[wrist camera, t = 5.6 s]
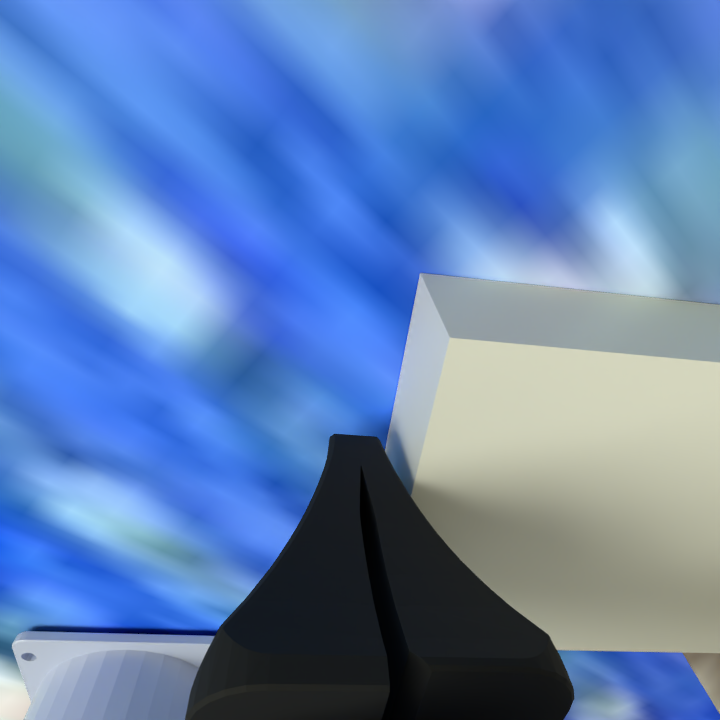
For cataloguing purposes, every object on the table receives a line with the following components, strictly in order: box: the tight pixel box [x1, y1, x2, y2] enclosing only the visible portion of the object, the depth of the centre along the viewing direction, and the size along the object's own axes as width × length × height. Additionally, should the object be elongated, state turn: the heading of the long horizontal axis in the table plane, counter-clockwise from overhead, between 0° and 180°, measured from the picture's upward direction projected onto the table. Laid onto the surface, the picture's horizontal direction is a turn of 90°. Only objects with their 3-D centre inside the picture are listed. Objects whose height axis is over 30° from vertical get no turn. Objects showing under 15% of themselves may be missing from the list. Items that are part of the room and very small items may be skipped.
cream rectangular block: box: [385, 273, 720, 653], centre depth 14 cm, size 10×14×4 cm
